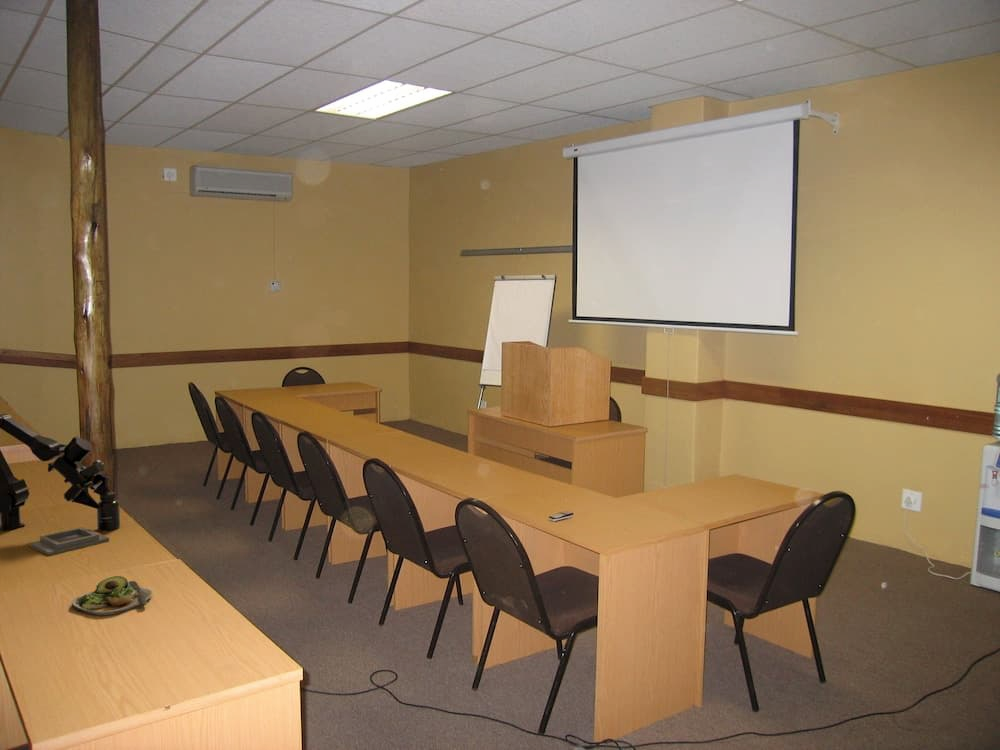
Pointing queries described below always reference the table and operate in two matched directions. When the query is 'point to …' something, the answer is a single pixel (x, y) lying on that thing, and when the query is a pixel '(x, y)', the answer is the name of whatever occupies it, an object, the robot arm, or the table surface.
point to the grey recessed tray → (68, 541)
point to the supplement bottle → (108, 512)
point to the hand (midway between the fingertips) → (105, 503)
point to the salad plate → (113, 597)
